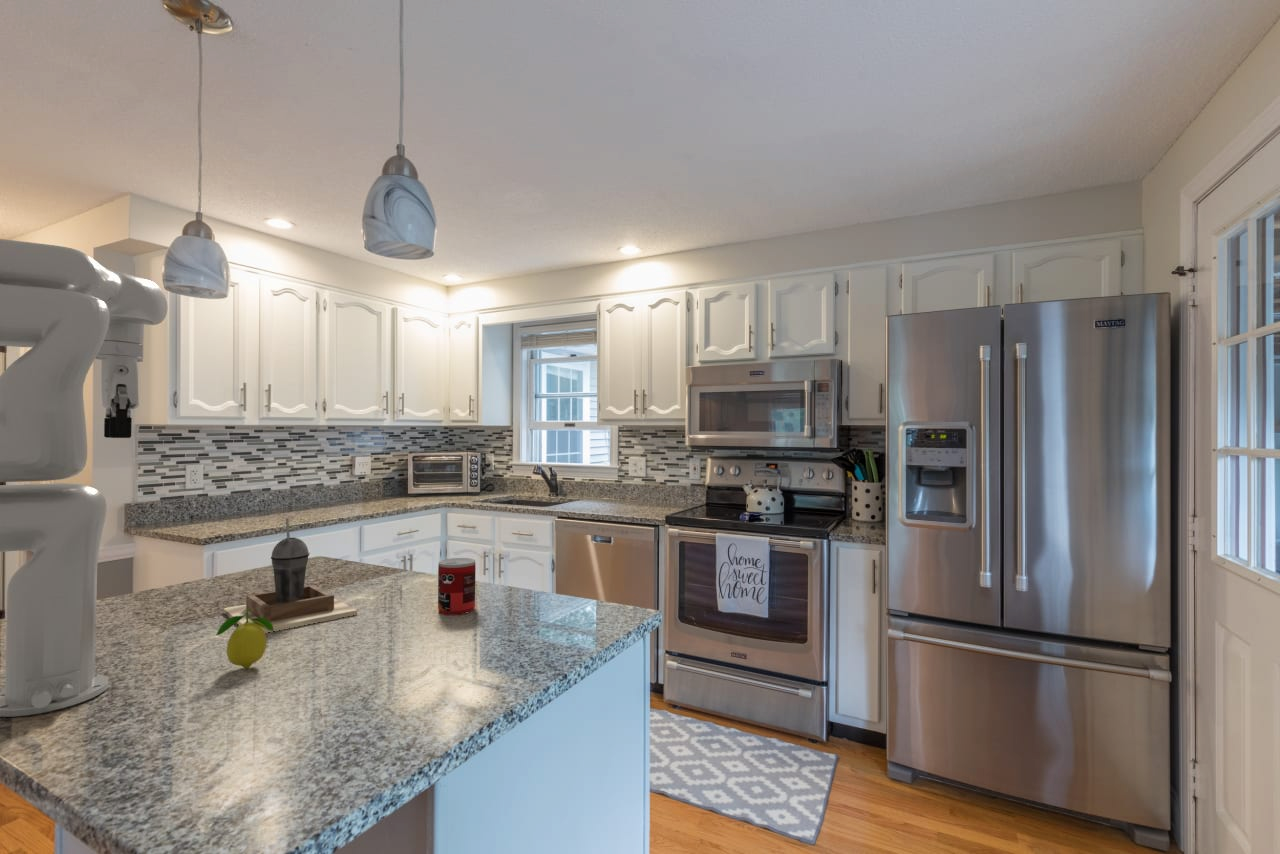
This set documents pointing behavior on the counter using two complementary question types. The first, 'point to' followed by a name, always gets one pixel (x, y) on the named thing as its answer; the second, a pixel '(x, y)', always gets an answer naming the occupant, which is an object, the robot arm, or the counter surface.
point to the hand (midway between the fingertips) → (117, 437)
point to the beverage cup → (289, 568)
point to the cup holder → (291, 609)
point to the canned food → (456, 585)
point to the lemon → (246, 640)
